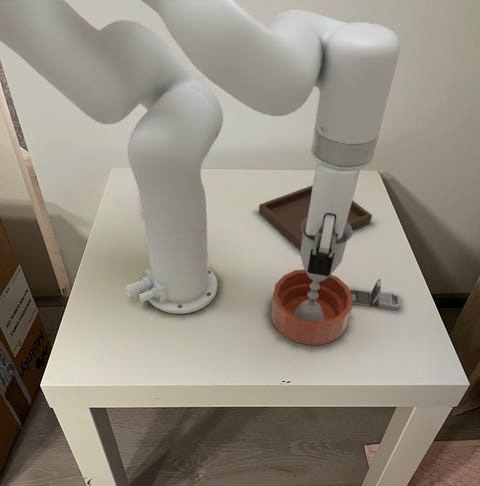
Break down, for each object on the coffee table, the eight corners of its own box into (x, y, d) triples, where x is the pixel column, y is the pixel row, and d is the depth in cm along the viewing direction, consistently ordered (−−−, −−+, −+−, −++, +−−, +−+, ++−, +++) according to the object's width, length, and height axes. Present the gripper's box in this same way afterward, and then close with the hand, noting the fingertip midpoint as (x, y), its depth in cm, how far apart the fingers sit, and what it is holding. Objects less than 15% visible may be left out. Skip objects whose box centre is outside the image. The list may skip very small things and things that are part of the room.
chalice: (330, 302, 83) (351, 216, 70) (331, 332, 79) (354, 246, 65) (287, 298, 84) (300, 212, 70) (286, 328, 79) (300, 241, 66)
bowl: (302, 357, 76) (306, 337, 72) (256, 307, 83) (258, 286, 79) (362, 325, 80) (369, 305, 77) (314, 280, 87) (318, 259, 84)
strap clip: (398, 298, 85) (404, 280, 82) (398, 310, 83) (406, 293, 80) (349, 291, 86) (354, 273, 83) (348, 303, 84) (354, 285, 81)
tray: (302, 252, 92) (303, 243, 91) (258, 213, 100) (259, 204, 99) (369, 223, 99) (372, 215, 98) (324, 188, 107) (325, 180, 106)
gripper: (319, 108, 64) (303, 218, 78) (303, 177, 53) (287, 293, 66) (377, 115, 64) (350, 225, 77) (373, 187, 52) (342, 302, 66)
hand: (321, 256), depth 72 cm, fingers closed on chalice, 6 cm apart
